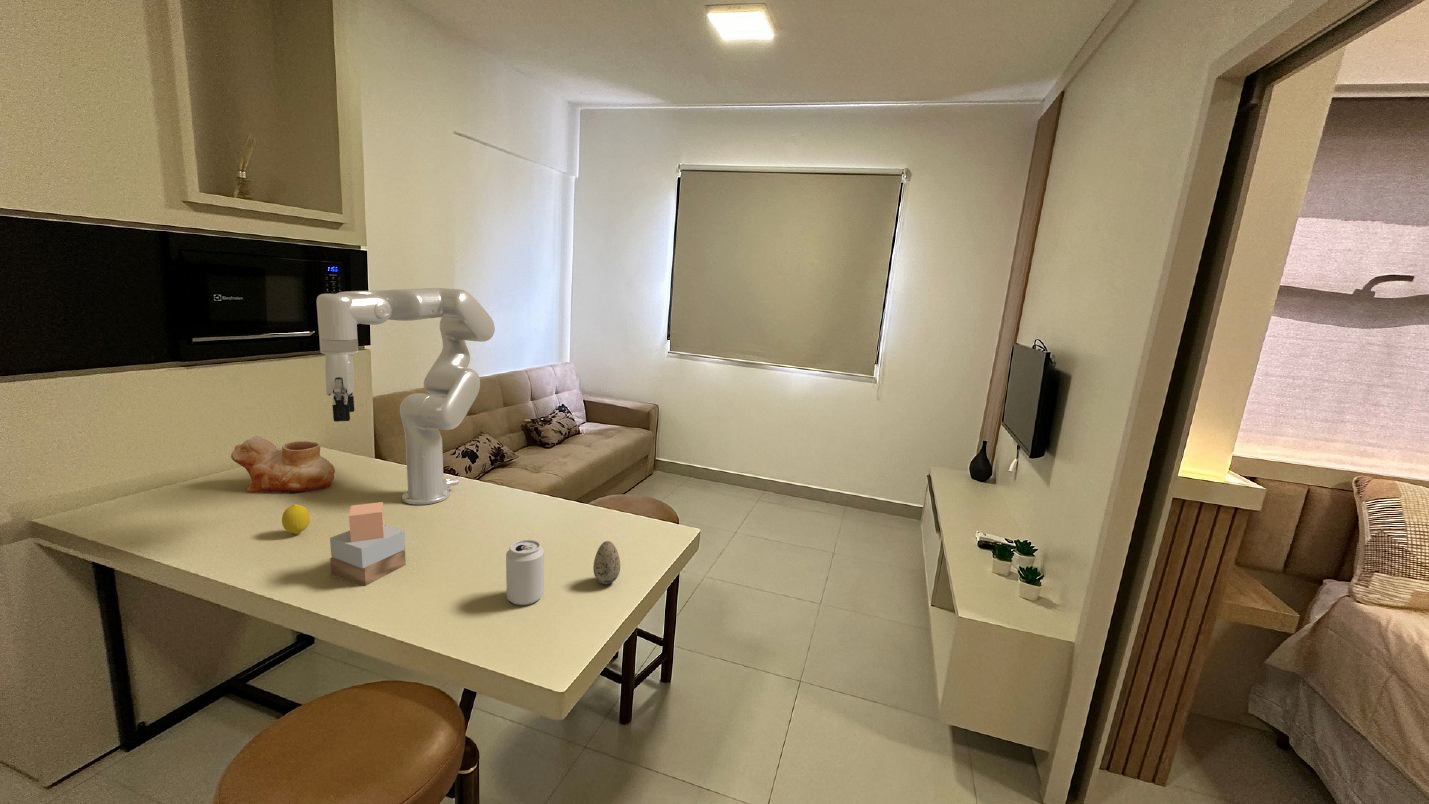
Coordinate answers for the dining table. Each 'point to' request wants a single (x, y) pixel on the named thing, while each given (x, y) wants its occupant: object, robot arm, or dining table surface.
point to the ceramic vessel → (284, 466)
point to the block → (366, 522)
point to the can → (525, 572)
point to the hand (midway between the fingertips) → (344, 416)
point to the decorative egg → (606, 563)
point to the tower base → (367, 569)
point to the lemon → (295, 519)
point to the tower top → (367, 547)
